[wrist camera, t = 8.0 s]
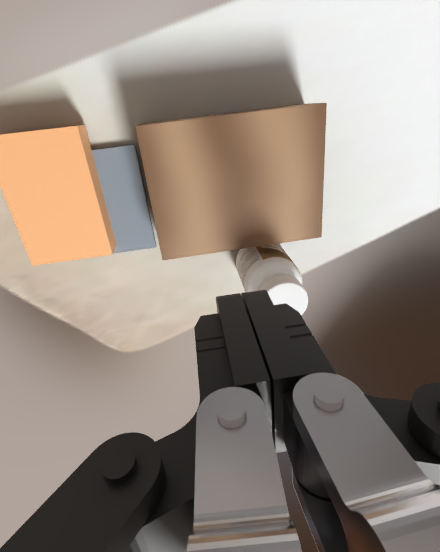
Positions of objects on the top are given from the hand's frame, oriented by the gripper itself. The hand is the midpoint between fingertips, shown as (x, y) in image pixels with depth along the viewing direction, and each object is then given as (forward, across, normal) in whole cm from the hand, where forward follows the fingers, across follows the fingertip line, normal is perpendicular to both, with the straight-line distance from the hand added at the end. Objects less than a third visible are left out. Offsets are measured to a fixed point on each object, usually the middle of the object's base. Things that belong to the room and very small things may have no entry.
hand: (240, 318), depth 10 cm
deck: (+18, -2, -1) cm, 18 cm away
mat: (+18, +8, 0) cm, 20 cm away
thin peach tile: (+16, +10, -1) cm, 19 cm away
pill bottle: (+18, -4, +7) cm, 20 cm away
